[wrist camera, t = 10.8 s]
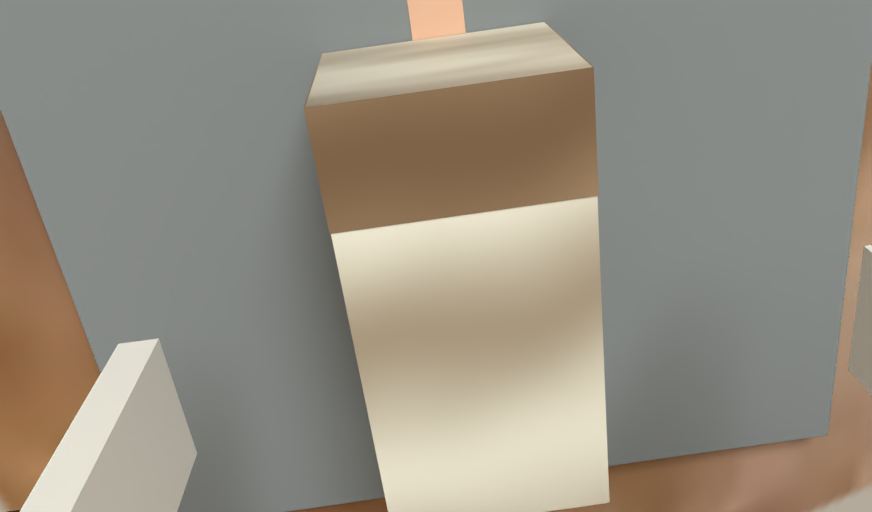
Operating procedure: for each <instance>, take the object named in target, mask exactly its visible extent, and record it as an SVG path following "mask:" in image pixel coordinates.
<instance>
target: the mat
mask: <svg viewBox="0 0 872 512" xmlns="http://www.w3.org/2000/svg"><path fill="white" fill-rule="evenodd" d="M539 22H546V23H547V24H548V25H549V26H550V27H551V28H552V29H553V30H554V31H556V32H557V33H558V34H559V35H560V36H561V37H562V38H563V39H564V40H565V41H566V42H567V43H568V44H570V45H571V46H572V47H573V48H574V49H575V50H576V51H577V52H578V53H579V54H580V55H581V56H582V57H583V58H585V59H586V60H587V61H588V62H589V63H590V64H591V65H592V66H593V67H594V85H595V111H596V137H597V163H598V189H599V196H597V197H598V223H599V248H600V273H601V299H602V324H603V350H604V375H605V401H606V426H607V452H608V466H613V465H620V464H627V463H634V462H641V461H648V460H655V459H662V458H669V457H677V456H684V455H691V454H698V453H705V452H712V451H719V450H726V449H733V448H740V447H747V446H754V445H762V444H769V443H776V442H783V441H790V440H797V439H804V438H811V437H818V436H825V435H828V429H829V420H830V412H831V403H832V395H833V386H834V378H835V369H836V361H837V352H838V343H839V335H840V326H841V318H842V309H843V301H844V292H845V284H846V275H847V266H848V258H849V249H850V241H851V232H852V224H853V215H854V207H855V198H856V189H857V181H858V172H859V164H860V155H861V147H862V138H863V130H864V121H865V113H866V104H867V95H868V87H869V78H870V70H871V61H872V0H0V109H1V112H2V114H3V117H4V120H5V122H6V125H7V127H8V130H9V133H10V135H11V138H12V141H13V143H14V146H15V149H16V151H17V154H18V157H19V159H20V162H21V164H22V167H23V170H24V172H25V175H26V178H27V180H28V183H29V186H30V188H31V191H32V193H33V196H34V199H35V201H36V204H37V207H38V209H39V212H40V215H41V217H42V220H43V222H44V225H45V228H46V230H47V233H48V236H49V238H50V241H51V244H52V246H53V249H54V251H55V254H56V257H57V259H58V262H59V265H60V267H61V270H62V273H63V275H64V278H65V280H66V283H67V286H68V288H69V291H70V294H71V296H72V299H73V302H74V304H75V307H76V309H77V312H78V315H79V317H80V320H81V323H82V325H83V328H84V331H85V333H86V336H87V338H88V341H89V344H90V346H91V349H92V352H93V354H94V357H95V360H96V362H97V365H98V367H99V370H100V373H101V372H102V371H103V369H104V367H105V366H106V364H107V362H108V360H109V359H110V357H111V355H112V354H113V352H114V350H115V349H116V347H117V345H118V344H120V343H128V342H136V341H143V340H151V339H159V341H160V344H161V347H162V350H163V353H164V356H165V359H166V362H167V365H168V368H169V371H170V374H171V377H172V380H173V383H174V386H175V389H176V392H177V395H178V398H179V401H180V404H181V407H182V410H183V413H184V416H185V418H186V421H187V424H188V427H189V430H190V433H191V436H192V439H193V442H194V445H195V448H196V451H197V455H196V458H195V461H194V464H193V467H192V470H191V473H190V476H189V479H188V481H187V484H186V487H185V490H184V493H183V496H182V499H181V502H180V505H179V508H178V511H177V512H287V511H294V510H301V509H308V508H315V507H322V506H329V505H336V504H343V503H351V502H358V501H365V500H372V499H379V498H385V495H384V490H383V485H382V480H381V475H380V470H379V465H378V461H377V456H376V451H375V446H374V441H373V436H372V431H371V427H370V422H369V417H368V412H367V407H366V402H365V397H364V393H363V388H362V383H361V378H360V373H359V368H358V363H357V359H356V354H355V349H354V344H353V339H352V334H351V329H350V325H349V320H348V315H347V310H346V305H345V300H344V295H343V291H342V286H341V281H340V276H339V271H338V266H337V261H336V257H335V252H334V247H333V242H332V237H331V234H330V233H329V229H328V224H327V219H326V214H325V209H324V204H323V200H322V195H321V190H320V185H319V180H318V175H317V171H316V166H315V161H314V156H313V151H312V146H311V142H310V137H309V132H308V127H307V122H306V117H305V112H304V106H305V103H306V100H307V97H308V94H309V91H310V88H311V84H312V81H313V78H314V75H315V72H316V69H317V66H318V63H319V60H320V57H321V54H322V53H328V52H335V51H342V50H349V49H356V48H363V47H370V46H377V45H385V44H392V43H399V42H406V41H413V40H420V39H427V38H434V37H441V36H448V35H455V34H462V33H469V32H476V31H483V30H490V29H497V28H504V27H511V26H518V25H525V24H532V23H539Z"/></svg>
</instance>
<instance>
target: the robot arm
mask: <svg viewBox="0 0 872 512" xmlns="http://www.w3.org/2000/svg"><path fill="white" fill-rule="evenodd" d="M848 370H849V371H850V373H851V374H852V375H853V376H854V377H855V378H856V379H857V380H858V382H859V383H860V384H861V385H862V386H863V387H864V388H865V389H866V391H867V392H868V393H869V394H870V395H871V396H872V245H868V246H864V250H863V258H862V266H861V273H860V281H859V289H858V297H857V304H856V312H855V320H854V328H853V336H852V343H851V351H850V359H849V367H848ZM196 455H197V451H196V448H195V445H194V442H193V439H192V436H191V433H190V430H189V427H188V424H187V421H186V418H185V416H184V413H183V410H182V407H181V404H180V401H179V398H178V395H177V392H176V389H175V386H174V383H173V380H172V377H171V374H170V371H169V368H168V365H167V362H166V359H165V356H164V353H163V350H162V347H161V344H160V341H159V339H151V340H143V341H136V342H128V343H120V344H118V345H117V347H116V349H115V350H114V352H113V354H112V355H111V357H110V359H109V360H108V362H107V364H106V366H105V367H104V369H103V371H102V372H101V374H100V376H99V377H98V379H97V381H96V383H95V384H94V386H93V388H92V389H91V391H90V393H89V394H88V396H87V398H86V400H85V401H84V403H83V405H82V406H81V408H80V410H79V412H78V413H77V415H76V417H75V418H74V420H73V422H72V423H71V425H70V427H69V429H68V430H67V432H66V434H65V435H64V437H63V439H62V440H61V442H60V444H59V446H58V447H57V449H56V451H55V452H54V454H53V456H52V457H51V459H50V461H49V463H48V464H47V466H46V468H45V469H44V471H43V473H42V474H41V476H40V478H39V480H38V481H37V483H36V485H35V486H34V488H33V490H32V491H31V493H30V495H29V497H28V498H27V500H26V502H25V503H24V505H23V507H22V509H21V510H17V511H9V512H177V511H178V508H179V505H180V502H181V499H182V496H183V493H184V490H185V487H186V484H187V481H188V479H189V476H190V473H191V470H192V467H193V464H194V461H195V458H196Z"/></svg>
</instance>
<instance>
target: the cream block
mask: <svg viewBox="0 0 872 512" xmlns="http://www.w3.org/2000/svg"><path fill="white" fill-rule="evenodd" d="M304 112H305V117H306V122H307V127H308V132H309V137H310V142H311V146H312V151H313V156H314V161H315V166H316V171H317V175H318V180H319V185H320V190H321V195H322V200H323V204H324V209H325V214H326V219H327V224H328V229H329V233H330V234H331V237H332V242H333V247H334V252H335V257H336V261H337V266H338V271H339V276H340V281H341V286H342V291H343V295H344V300H345V305H346V310H347V315H348V320H349V325H350V329H351V334H352V339H353V344H354V349H355V354H356V359H357V363H358V368H359V373H360V378H361V383H362V388H363V393H364V397H365V402H366V407H367V412H368V417H369V422H370V427H371V431H372V436H373V441H374V446H375V451H376V456H377V461H378V465H379V470H380V475H381V480H382V485H383V490H384V495H385V499H386V504H387V509H388V512H547V511H554V510H561V509H568V508H575V507H582V506H589V505H596V504H603V503H609V477H608V452H607V426H606V401H605V375H604V350H603V324H602V299H601V273H600V248H599V223H598V197H597V196H599V189H598V163H597V137H596V111H595V85H594V67H593V66H592V65H591V64H590V63H589V62H588V61H587V60H586V59H585V58H583V57H582V56H581V55H580V54H579V53H578V52H577V51H576V50H575V49H574V48H573V47H572V46H571V45H570V44H568V43H567V42H566V41H565V40H564V39H563V38H562V37H561V36H560V35H559V34H558V33H557V32H556V31H554V30H553V29H552V28H551V27H550V26H549V25H548V24H547V23H546V22H539V23H532V24H525V25H518V26H511V27H504V28H497V29H490V30H483V31H476V32H469V33H462V34H455V35H448V36H441V37H434V38H427V39H420V40H413V41H406V42H399V43H392V44H385V45H377V46H370V47H363V48H356V49H349V50H342V51H335V52H328V53H322V54H321V57H320V60H319V63H318V66H317V69H316V72H315V75H314V78H313V81H312V84H311V88H310V91H309V94H308V97H307V100H306V103H305V106H304Z"/></svg>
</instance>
